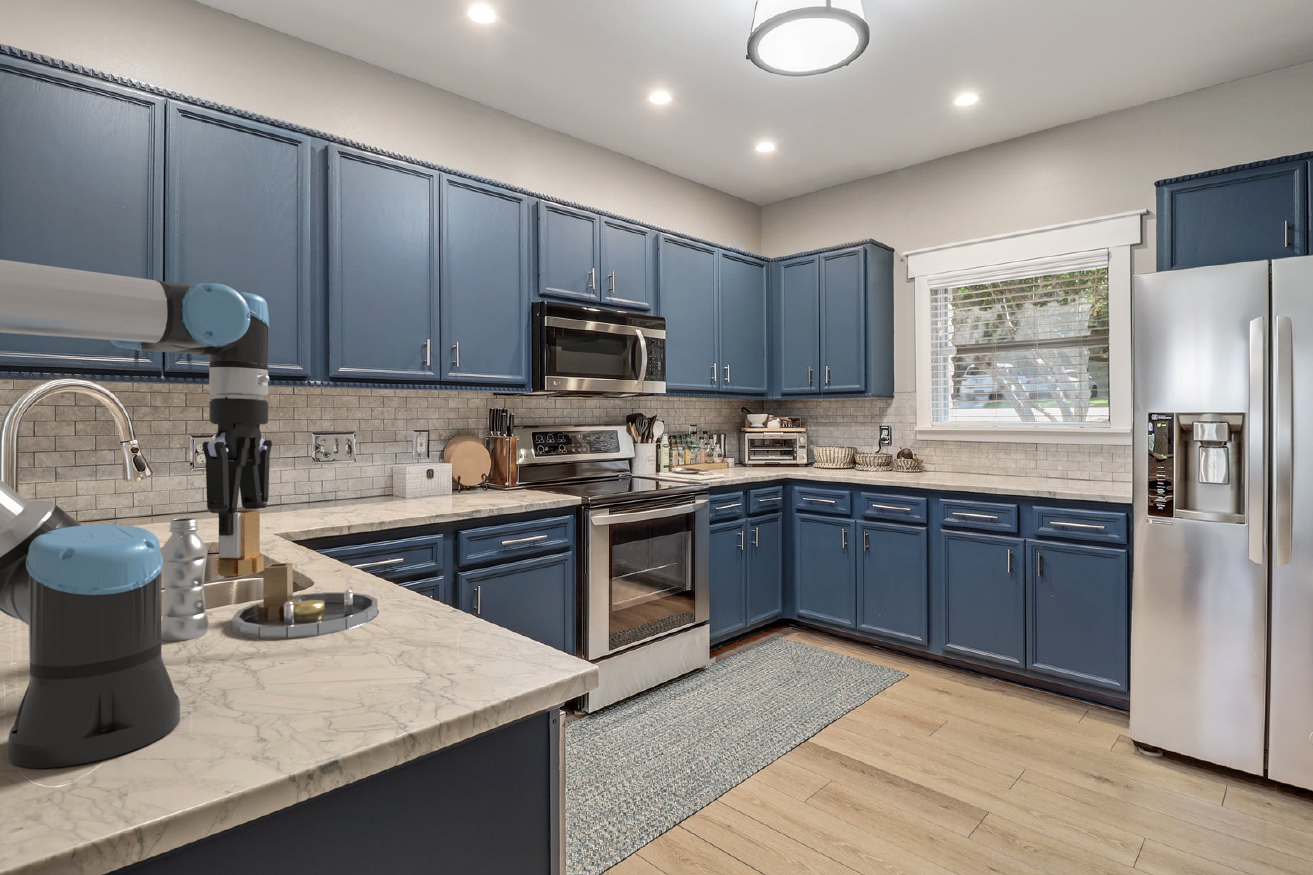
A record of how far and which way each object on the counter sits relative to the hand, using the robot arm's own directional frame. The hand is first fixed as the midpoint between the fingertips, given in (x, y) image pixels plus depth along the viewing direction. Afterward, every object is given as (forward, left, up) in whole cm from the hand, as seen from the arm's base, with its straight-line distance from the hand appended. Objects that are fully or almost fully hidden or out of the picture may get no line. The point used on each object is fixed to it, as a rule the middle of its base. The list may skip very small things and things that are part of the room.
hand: (239, 554), depth 103 cm
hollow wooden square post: (0, 0, -3) cm, 3 cm away
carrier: (+18, -1, -16) cm, 24 cm away
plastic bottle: (+8, +14, -16) cm, 23 cm away
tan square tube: (+20, +5, -15) cm, 25 cm away
